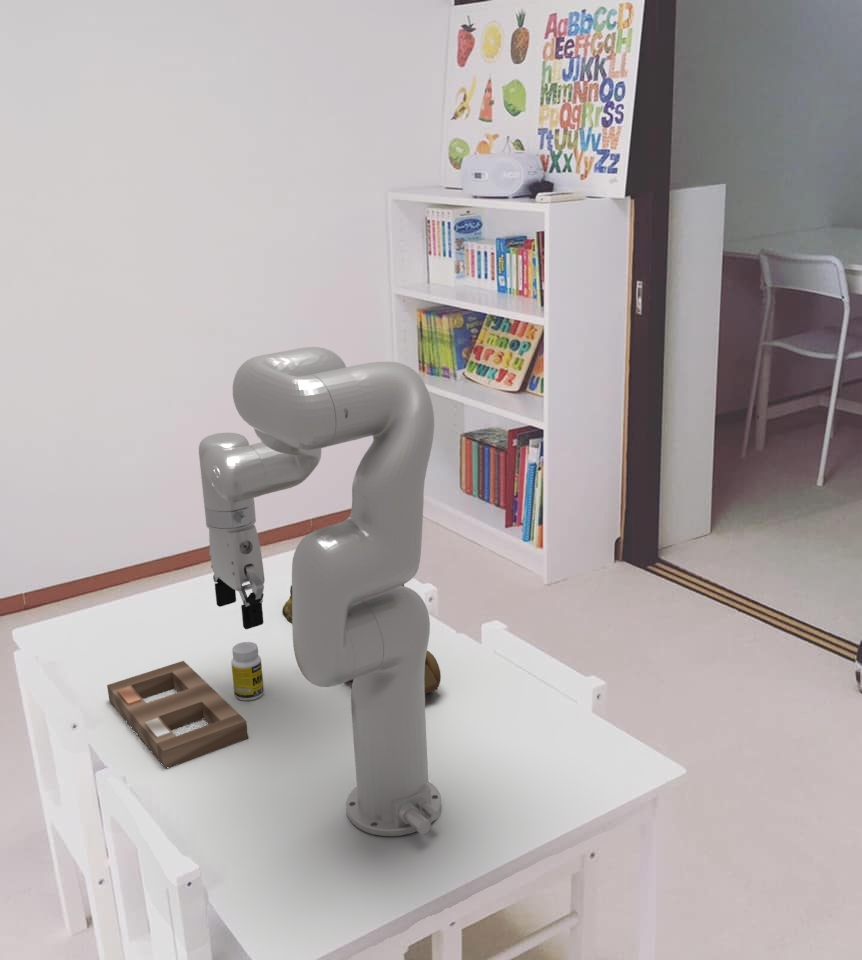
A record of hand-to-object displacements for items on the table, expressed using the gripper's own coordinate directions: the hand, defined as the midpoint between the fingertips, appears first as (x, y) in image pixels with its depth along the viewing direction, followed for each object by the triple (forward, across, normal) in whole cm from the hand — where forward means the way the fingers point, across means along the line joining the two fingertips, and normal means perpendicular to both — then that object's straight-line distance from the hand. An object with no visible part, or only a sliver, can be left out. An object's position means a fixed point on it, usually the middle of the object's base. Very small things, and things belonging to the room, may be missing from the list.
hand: (239, 614), depth 171 cm
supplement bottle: (+14, -1, 0) cm, 14 cm away
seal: (+15, +19, -22) cm, 33 cm away
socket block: (+14, -1, +12) cm, 19 cm away
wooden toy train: (+14, -12, -19) cm, 26 cm away
